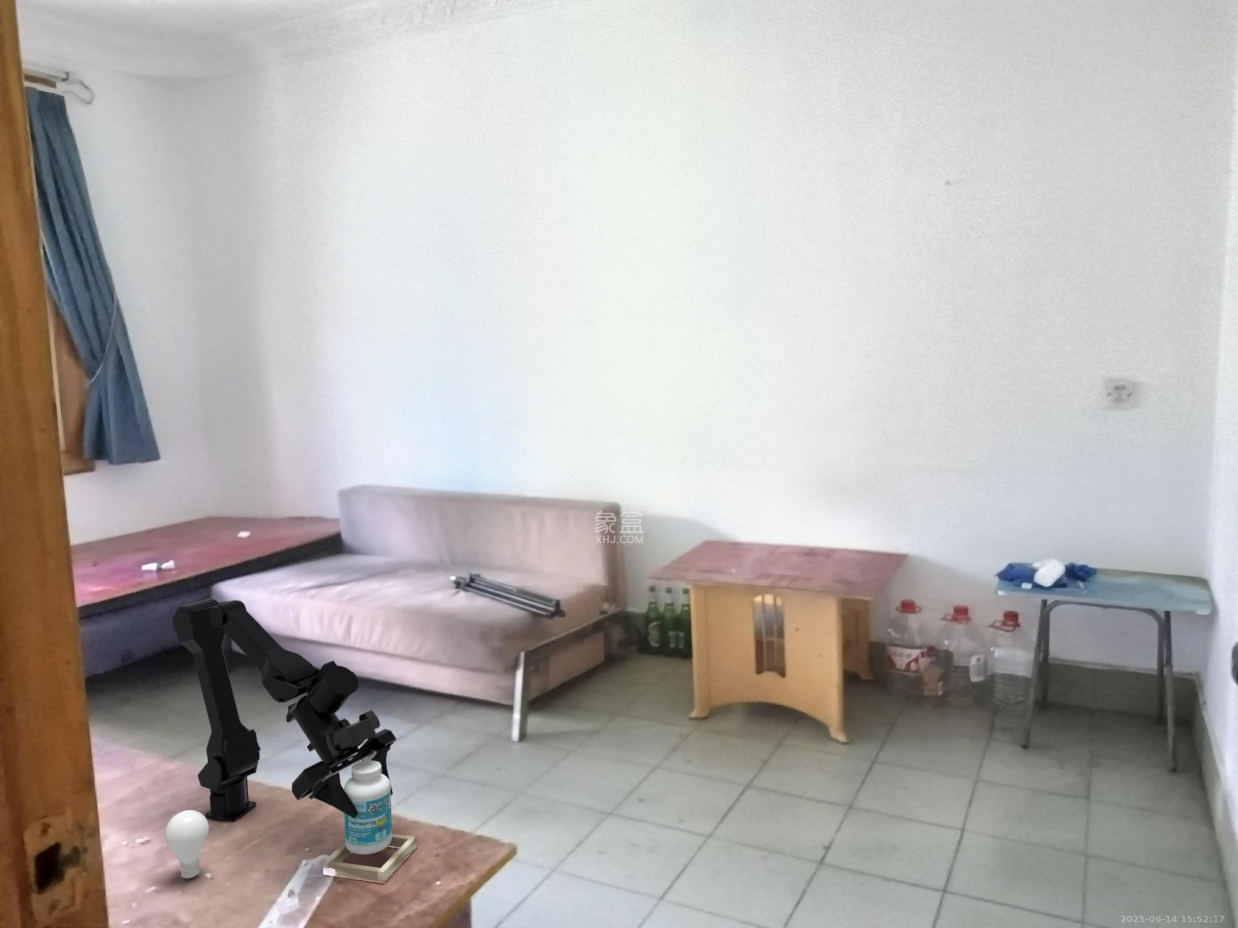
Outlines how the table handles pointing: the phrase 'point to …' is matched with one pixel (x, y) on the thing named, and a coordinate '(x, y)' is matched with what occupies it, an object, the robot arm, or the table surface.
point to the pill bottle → (368, 809)
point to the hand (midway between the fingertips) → (373, 805)
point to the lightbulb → (187, 839)
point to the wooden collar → (365, 871)
